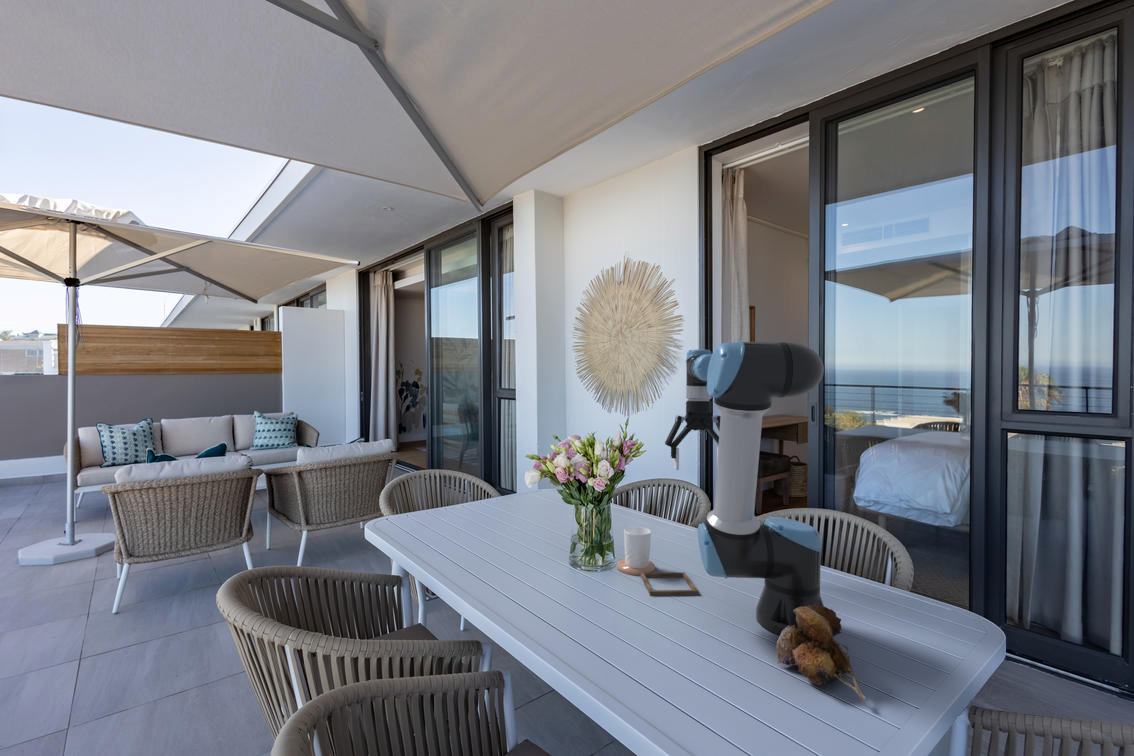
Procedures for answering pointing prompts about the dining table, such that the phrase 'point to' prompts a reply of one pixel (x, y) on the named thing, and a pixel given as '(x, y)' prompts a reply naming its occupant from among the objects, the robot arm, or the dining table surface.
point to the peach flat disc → (633, 571)
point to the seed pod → (816, 646)
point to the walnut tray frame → (669, 592)
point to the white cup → (637, 547)
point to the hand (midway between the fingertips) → (698, 469)
